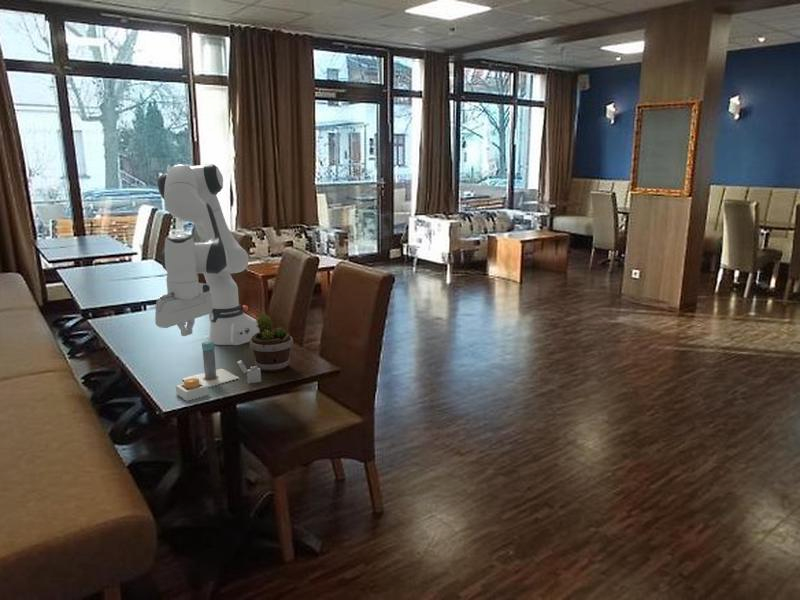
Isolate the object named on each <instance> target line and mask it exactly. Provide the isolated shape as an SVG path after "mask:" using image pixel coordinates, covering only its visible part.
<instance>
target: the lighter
mask: <svg viewBox="0 0 800 600" xmlns="http://www.w3.org/2000/svg"><path fill="white" fill-rule="evenodd" d="M236 363H237V364H238V366H239V368H240V369H241V370H242V372H243V374H246V377H247V378H246V379H247V380H246V381H247V383H248V384H250V383H251V384H255V383H261V382H262V371H261V369H260V368H258V367H257V366H256V365H253V366H252V365H251V366H250V367H249V368H248V369H247V367H246V365H245V364H244V362H243V361H242V360H241V359H240V360H238V361H237V362H236Z"/></svg>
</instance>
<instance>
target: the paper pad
mask: <svg viewBox="0 0 800 600" xmlns="http://www.w3.org/2000/svg"><path fill="white" fill-rule="evenodd" d="M190 378H197V379H199V381H200V382H202V383H204V384H206V385H207V386H208V387H210V388H212V386H213V387H216V386H215V385H217V386H219V385H218V384H220V385H222V384H221V383H224V384H226V383H225V382H228V383H230V382H229V381H231V382H233V381H232V380H235V381H237V380H236V379H238V380H240V377H239V376H237V375H235V374H233V373H232V372H230V371H228V370H226V369H223V368H222V367H221V368H218V369H217V368H216V378H215V379H212V380H206V379H205V372H201V373H197V374H195V375H190V376H186V377H182V379H181V380H182V381H183V380H184V381H185V380H186V379H190ZM184 381H183V382H184Z"/></svg>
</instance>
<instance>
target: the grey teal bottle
mask: <svg viewBox="0 0 800 600" xmlns="http://www.w3.org/2000/svg"><path fill="white" fill-rule="evenodd" d="M201 349H202V357H203V369H204V372H203V373H205V379H206V380H212V379H215V378H216V370H217V367H216V366H217V365H216V354H215V344H214V342H213V341H208V340H207V341H203V342H201Z"/></svg>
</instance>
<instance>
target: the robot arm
mask: <svg viewBox="0 0 800 600" xmlns="http://www.w3.org/2000/svg"><path fill="white" fill-rule="evenodd" d="M223 178H224V177H223V174H222V172H221V171H220V169H219V167H218V166H216V165H215V164H212V163H205V164H202V165H191V166H189V165H186V164H175V165H173V166H171V168H169V169H168V171H167V172H164V173H163V174H161V175H159V177H158V180H157V189H158V192H159V194H160V196H161V198H162V199H163V200H164V204H165V206H164V207H165V208H166V211H167V212H168V213H169V214H170V215H171V216H173V217H174V218H176V219H178V220H180V221H184V222H187V223H192V224H194V227H195V230H196V233H197V235H198V236H199V237H200V238H201V239H202V240H203V241H194V238H193V236H192V235H191V234H188V233H182V232H181V233H174V234H173V233H171V234H170V235H168V236H166V237H165V242H164V248H163V250H162V251H161V262H162V263H161V264H162V268H163V269H164V270H165V271H166V273H167V274H166V275H167V276H166V290H167V291H166V292H167V294H162V295H160V296H159V297H158V298H157V300H156V302H155V303H156V304H155V305H156V306H155V311H154V312H155V317H154V318H155V320H154V322H155V325H156V327H158V328H161V329H167V328H171V327H174V326H177V327H178V329H179V330H180V336H182V337H187V336H191V334H192V335H193V328H194V324H195V322H196V319H197V318H201V317H204V316H207V315H208V316H209V322H210V323H209V325H210V326H209V333H208V334H209V335H208V339H207V341H213V342H214V346H215V345H217V346H240V345H243V344H245V343H250V339H251V338H252V337H253V336H254V335H255V334H256V333H259V332H260V331H259V330H258V329H259V328H257V325H258V322H257V320H255V319H254V318H252V317H251V316H249V314H246V313H245V312H247V311H248V305H245V304H243V305H242V304H240V302H239V301H240V300H239V288H238V285H237V282H235V280H234V279H233V277H232V274H237V273H241V272H244V271H245V269H247V267H248V265H249V261H250V259H249V253H248V252H247V250H246V249H244V248H243V247H242V246H241V245H240V244H239V243H238V241H237V240H236V239H235V236H234V235H233V234H232V232H231V230H230V228H229V226H228V225H227V223H226V219H225V216H224V212H223V210H222V207H221V204H220V200H219V198H218V196H217V195H218V193H220V192H221V191H222V190H223V188H224V179H223ZM198 274H203V276H204V279H205V281H206V283H204V282H199V276H198ZM255 321H256V322H255Z"/></svg>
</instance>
